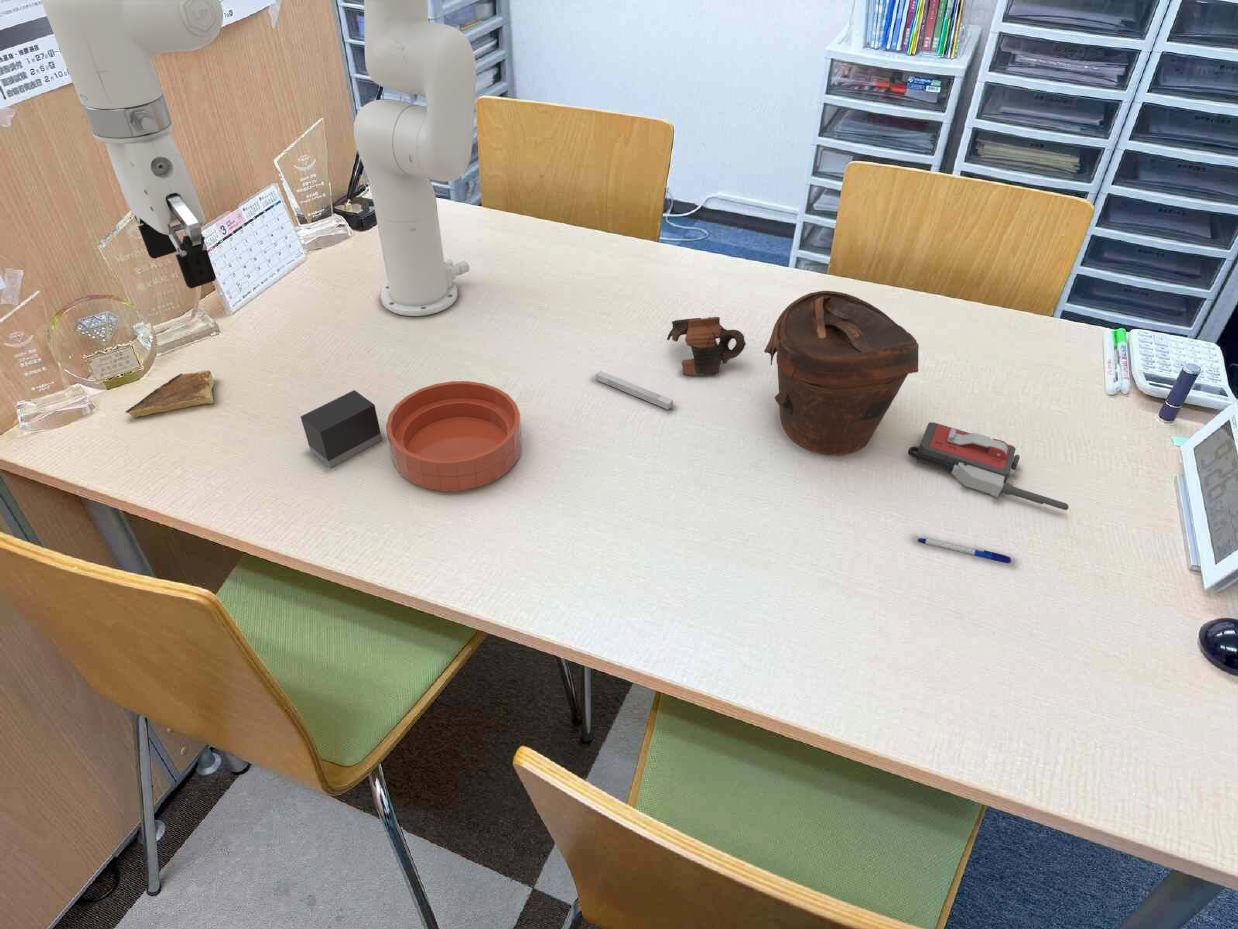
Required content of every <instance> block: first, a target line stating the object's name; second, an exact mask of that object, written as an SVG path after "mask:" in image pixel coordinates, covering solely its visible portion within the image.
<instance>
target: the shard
mask: <svg viewBox="0 0 1238 929" xmlns="http://www.w3.org/2000/svg"><path fill="white" fill-rule="evenodd" d="M214 384H215V381H214V378H213V376H212V371H211V370H203V371H197V372H190V373H179V374H178V375H175V376H174V377H172V378H171V379H169V380H168V381H167V382H165V383H163V384H162V385H160V386H159V387H157V388H155V389H154V390H153V391H152V392H150V393H149V394H148V395H146V396H145V397H144V398H142V399H141V400H139V402H138V403H136V404H134V405H133V406H131V407H130V408H129V409H127V410H125V413H126V414H129V415H130V416H131V417H132V418H138V417H144V416H149V415H151V414H158V413H165V412H169V411H173V410H177V409H184V408H189V407H193V406H199V405H206V404H210V405H211V404H214V402H215V401H214V397H213V391H212V390H213V387H214Z"/></svg>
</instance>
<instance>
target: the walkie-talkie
mask: <svg viewBox="0 0 1238 929" xmlns="http://www.w3.org/2000/svg"><path fill="white" fill-rule="evenodd" d="M1015 453H1016V447H1015V446H1014V445H1012V444H1008V443H1007V442H1006V441H1004V440H1001V439H997V438H991V437H990V436H987V435H984V434H981V433H977V432H974V433H971V432H968V431H964V430H961V429H957V428H954V427H951V426H948V425H944V424H940V423H937V422H934V421H933V422H932V421H931V422H930V421H928V423H927V425H926V428H925V431H924V434H923V436H922V439H921V441H920V443H919V447H918V446H913V445H912V446H910V447H909V448H908V451H907V454H908V455H909V456H910V457H912V458H913V459H915V460H916V461H917V462H918V463H920V464H922V465H925V466H928V467H931V468H935V469H937V470H941V471H944V472H948V473H950V474H951V475H953V477H954V478H955V479H956V480H958V481H959V482H960V483H961V484H963V486H965V487H967V488H971V489H973V490H975V491H976V490H977V491H980V492H983V493H985V494H989V495H991V496H993V497H996V498H998V497H999V495H1000V493H1002V494H1004V495H1007V496H1014V497H1016V498H1020V499H1024V500H1027V501H1030V502H1034V503H1037V504H1040V505H1043V504H1044V505H1047V506H1051V507H1054V508H1057V509H1061V510H1063V511H1068V509H1069V504H1067V503H1066V502H1063V501H1060V500H1057V499H1054V498H1051V497H1047V496H1045V495H1041V494H1038V493H1035V492H1032V491H1028V490H1025V489H1022V488H1019V487H1016V486H1014V485H1013V484H1011V482H1012V480H1011V479H1009V477H1010V476H1011V477H1013V476H1014V474H1015V472H1016V469H1017V466H1018V464H1019V462H1020V458H1021V457H1020V455H1018V454H1015Z"/></svg>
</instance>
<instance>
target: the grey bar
mask: <svg viewBox="0 0 1238 929" xmlns="http://www.w3.org/2000/svg"><path fill="white" fill-rule="evenodd" d="M596 381H598V382H600V383H603V384H604V385H608V386H610V387H613V388H615V389H618V390H620V391H622V392H625V393H626V394H629V395H631V396H634V397H637V398H639V399H641V400H643V401H646V402H649V403H651V404H652V405H656V406H657V407H660V408H663V409H665V410H668V411H669V410H670V409H672V408H673V406H674V400H673V399H670V398H668V397H666V396H664V395H661V394H659V393H656V392H653V391H652V390H649V389H646V388H644V387H641V386H640V385H637V384H634V383H632V382H629V381H626V380H625V379H622V378H620V377H617V376H614V375H612V374H610V373H607V372H605V371H603V370H600V371H599V372H598V373H596Z"/></svg>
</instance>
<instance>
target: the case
mask: <svg viewBox="0 0 1238 929" xmlns="http://www.w3.org/2000/svg"><path fill="white" fill-rule="evenodd" d="M919 346H920V345H919V343H918V342H917V339H916V338H915V337H914V336H913V335H912V334H911V332H909V331H907V330H906V329H905V328H904V327H903V326H902V325H899V324H898V323H896V322H895V321H894V320H893V319H892V318H891V317H890V316H889V315H888V314H886V313H885V312H883V311H882V310H880V309H879V308H878V307H876V306H874V305H873V304H871V303H869V302H867V301H865V300H864V299H861V298H860V297H857V296H854V295H852V294H848V293H845V292H842V291H841V292H840V291H834V290H819V291H814V292H810V293H807V294H805V295H803V296H801V297H798V298H797V299H795V300H793V302H791V303H790V304H789V305H788V306H786V307H785V309H784V310H783V311H782V312H781V313H780V315H779V316H778V318H777V320H776V322H775V324H774V325H773V328H772V331H771V335H770V337H769V340H768V342H767V345H766V346H765V349H764V353H765V354H769V355H770V366H772V365H773V360H774V356H775V354H776V365H777V381H778V393H777V394H776V395H775V396H774V400H775V402H776V404H777V405H778V406H779V408H778V409H779V420H780V422H781V426H782V428H783V430H784V431H785V433H786V434H787V436H788V437H789V438H790V439H792V441H793V442H795V443H796V444H798V445H799V446H801V447H803V448H805V449H807V450H809V451H811V452H815V453H818V454H821V455H822V454H823V455H828V456H830V455H831V456H842V455H843V456H844V455H850V454H853V453H856V452H858V451H861V450H862V449H863V448H865V447H866V446H867V445H868V443H869V442H870V441H871V438H873V435H874V433H875V432H876V430H877V428H878V426H879V425H880V423H881V422H882V420H883V419H884V417H885V415H886V413H887V412H888V410H889V408H890V407H891V405H892V403H893V402H894V401H895V398H896V397H897V395H898V393H899V392H900V389H901V387H902V386H903V384H904V382H905V380H906V378H908V376H909V374H914V373H918V372H919Z"/></svg>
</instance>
